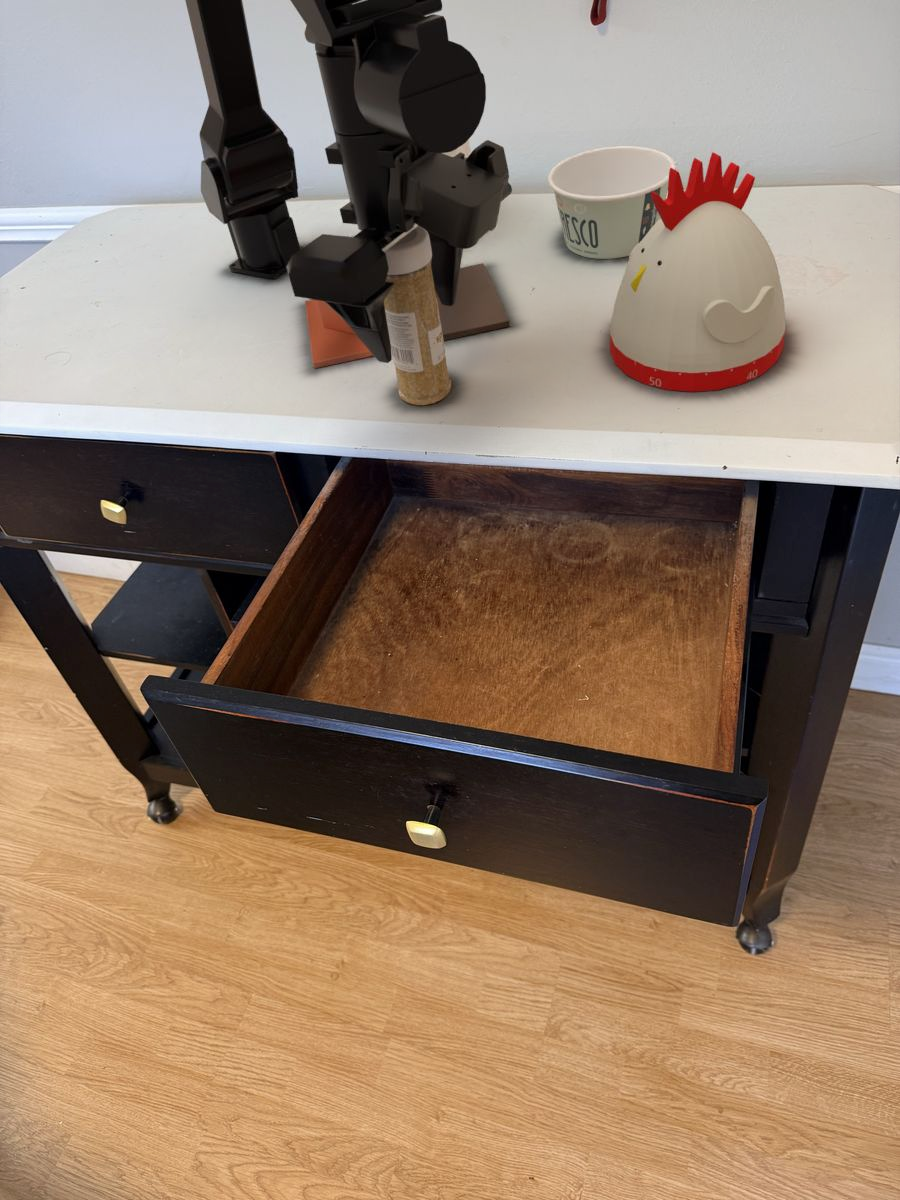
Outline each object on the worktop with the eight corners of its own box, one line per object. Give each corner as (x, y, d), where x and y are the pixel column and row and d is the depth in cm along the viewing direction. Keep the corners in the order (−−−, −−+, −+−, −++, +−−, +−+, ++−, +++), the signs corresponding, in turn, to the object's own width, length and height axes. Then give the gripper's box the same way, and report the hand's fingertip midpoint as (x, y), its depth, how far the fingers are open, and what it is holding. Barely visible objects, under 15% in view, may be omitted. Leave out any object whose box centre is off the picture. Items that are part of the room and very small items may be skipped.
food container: (696, 223, 90) (700, 155, 85) (628, 276, 85) (628, 206, 80) (596, 202, 96) (595, 138, 92) (527, 250, 91) (522, 184, 86)
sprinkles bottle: (462, 392, 75) (440, 234, 65) (416, 414, 74) (386, 257, 64) (433, 370, 78) (408, 216, 68) (388, 391, 77) (356, 237, 67)
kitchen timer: (582, 332, 79) (576, 153, 68) (721, 286, 81) (736, 106, 70) (663, 410, 69) (671, 217, 59) (818, 357, 71) (853, 161, 61)
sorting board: (314, 368, 81) (312, 362, 80) (306, 306, 89) (304, 300, 89) (510, 326, 81) (509, 320, 81) (484, 268, 90) (483, 262, 89)
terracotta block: (323, 327, 85) (312, 283, 81) (351, 304, 87) (340, 261, 84) (360, 335, 83) (350, 290, 79) (388, 312, 85) (379, 267, 82)
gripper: (393, 182, 52) (439, 413, 63) (546, 74, 62) (562, 289, 73) (251, 173, 57) (316, 387, 68) (413, 75, 67) (447, 275, 78)
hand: (417, 332), depth 72 cm, fingers open, 9 cm apart
